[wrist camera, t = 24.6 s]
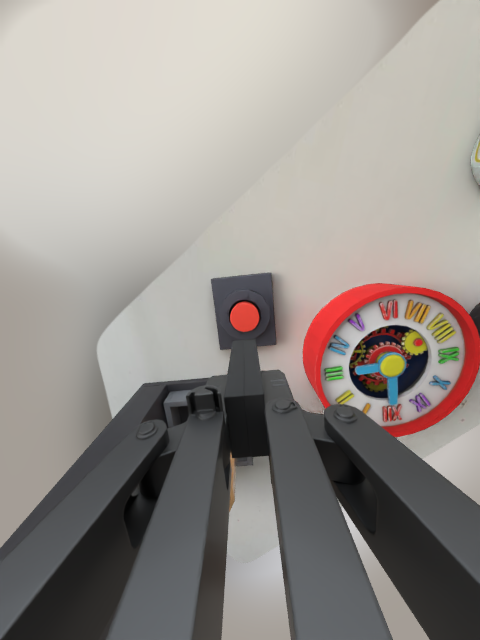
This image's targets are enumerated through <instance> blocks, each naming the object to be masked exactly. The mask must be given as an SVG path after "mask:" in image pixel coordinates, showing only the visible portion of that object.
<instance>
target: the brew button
mask: <svg viewBox="0 0 480 640" xmlns="http://www.w3.org/2000/svg"><path fill="white" fill-rule="evenodd" d="M230 321H231V324H232V325H233V327H234V328H235V329H237V330H238V331H241V332H248V331H251V330H253V329H254V328H255V327H256V326H257V324H258V322H259V313H258V310H257V308H256V307H255V306H254V305H253V304H252V303H250V302H240V303H238V304H236V305H235V306H234V307H233V309H232V311H231V315H230Z"/></svg>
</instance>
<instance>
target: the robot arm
mask: <svg viewBox="0 0 480 640" xmlns="http://www.w3.org/2000/svg"><path fill="white" fill-rule="evenodd" d="M186 401H187V407H188V412H189V417H188V420H187V421H186V422H185V423H182V424H180V425H177V426H173V427H170V428H167V424H166V423H165V422H164V421H162V420H159V419H157V420H149V421H146V422H143V423H141V424H139V425H137V426H136V427H135V428H134V429H132V430H131V431H130V432H129V433H128V434H127V435H126V436H125V437H124V438H123V439H122V440H121V441H120V442H119V443H118V444H117V445H116V446H115V447H114V448H113V449H112V450H111V451H110V452H109V453H108V454H107V455H106V456H105V457H104V458H103V459H102V460H101V461H100V462H99V463H98V464H97V465H96V466H95V467H94V468H93V469H92V470H91V471H90V472H89V473H88V474H87V475H86V476H85V477H84V478H83V479H82V480H81V481H80V482H79V483H78V484H77V485H76V486H75V487H74V488H73V489H72V490H71V491H70V492H69V493H68V494H67V495H66V496H65V497H64V498H63V499H62V500H61V501H60V502H59V503H58V504H57V505H56V506H55V507H54V508H53V509H52V510H51V511H50V512H49V513H48V514H47V515H46V516H45V517H44V518H43V519H42V520H41V521H40V522H39V523H38V524H37V525H36V526H35V527H34V528H33V529H32V530H31V531H30V532H29V533H28V534H27V535H26V536H25V537H24V538H23V539H22V540H21V541H20V542H19V543H18V544H17V545H16V546H15V547H14V548H13V549H12V550H11V551H10V552H9V553H8V554H7V555H6V556H5V557H4V558H3V559H2V560H1V561H0V640H100V639H101V637H102V635H103V633H104V631H105V629H106V627H107V625H108V624H109V622H110V620H111V618H112V616H113V614H114V612H115V610H116V609H117V610H116V613H115V616H114V618H113V621H112V624H111V626H110V629H109V632H108V634H107V637H106V640H221V636H222V619H223V603H224V586H225V570H226V554H227V538H228V522H229V505H230V489H231V473H232V469H231V462H230V455H232V458H243V457H257V456H269V462H270V474H271V484H272V488H273V496H274V505H275V513H276V521H277V529H278V537H279V545H280V553H281V561H282V570H283V578H284V586H285V594H286V602H287V609H288V610H287V611H288V618H289V627H290V634H291V640H393V639H392V636H391V634H390V631H389V628H388V626H387V623H386V621H385V618H384V616H383V613H382V611H381V608H380V606H379V604H378V601H377V598H376V596H375V593H374V591H373V588H372V586H371V583H370V581H369V578H368V576H367V573H366V570H365V568H364V566H363V563H362V560H361V558H360V555H359V553H358V550H357V548H356V545H355V543H354V540H353V538H352V535H351V533H350V530H349V528H348V525H347V523H346V520H345V518H344V515H343V512H342V510H341V507H340V505H339V502H338V500H339V501H340V503H341V505H342V506H343V508H344V509H345V511H346V512H347V514H348V515H349V517H350V518H351V520H352V521H353V523H354V524H355V526H356V527H357V529H358V530H359V532H360V534H361V535H362V537H363V538H364V540H365V541H366V543H367V544H368V546H369V547H370V549H371V550H372V552H373V553H374V555H375V556H376V558H377V559H378V561H379V563H380V564H381V566H382V567H383V569H384V570H385V572H386V573H387V575H388V576H389V578H390V579H391V581H392V582H393V584H394V585H395V587H396V589H397V590H398V591H399V593H400V594H401V596H402V597H403V599H404V601H405V602H406V604H407V605H408V607H409V608H410V610H411V611H412V613H413V614H414V616H415V618H416V619H417V621H418V622H419V624H420V625H421V627H422V628H423V630H424V631H425V633H426V634H427V636H428V637H429V639H430V640H480V505H478V504H477V503H476V502H475V501H473V500H472V499H471V498H470V497H468V496H467V495H466V494H464V493H463V492H462V491H461V490H460V489H458V488H457V487H456V486H455V485H453V484H452V483H451V482H450V481H448V480H447V479H446V478H445V477H443V476H442V475H441V474H439V473H438V472H437V471H436V470H435V469H433V468H432V467H431V466H430V465H428V464H427V463H426V462H425V461H423V460H422V459H421V458H420V457H418V456H417V455H416V454H415V453H413V452H412V451H411V450H410V449H408V448H407V447H406V446H405V445H403V444H402V443H401V442H400V441H398V440H397V439H396V438H395V437H393V436H392V435H391V434H390V433H389V432H387V431H386V430H385V429H384V428H382V427H381V426H380V425H379V424H377V423H376V422H375V421H374V420H372V419H371V418H370V417H369V416H367V415H366V414H365V413H364V412H362V411H361V410H359V409H357V408H356V407H353V406H350V405H346V404H334V405H331V406H329V407H327V408H326V409H325V410H324V415H323V414H315V413H310V412H307V411H304V410H302V409H301V406H300V405H299V404H298V402H296V401H294V399H293V396H292V393H291V390H290V388H289V385H288V382H287V380H286V377H285V374H284V373H282V372H281V371H280V370H270V371H260V365H259V358H258V352H257V345H256V339H249V340H239V341H233V343H232V350H231V356H230V362H229V368H228V374H227V375H220V376H212V377H211V378H210V379H209V380H208V381H207V383H206V385H205V386H199V387H197V388H194V389H192V390H191V391H189V392H188V393H187V395H186ZM137 485H138V487H137ZM136 487H137V489H136V490H135V488H136ZM134 490H135V491H134ZM133 491H134V492H133ZM132 492H133V493H132ZM337 498H338V500H337ZM117 607H118V608H117Z"/></svg>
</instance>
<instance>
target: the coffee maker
mask: <svg viewBox="0 0 480 640" xmlns="http://www.w3.org/2000/svg"><path fill="white" fill-rule="evenodd" d="M209 379H210V378H203V379H191V380H180V381H168V382H157V383H145V384H143V385H142V386H141V387H140V388H139V390H138V391H137V392H136V393H135V394H134V395H133V396H132V398H131V399H130V400H129V401H128V402H127V403H126V404H125V406H124V407H123V408H122V409H121V410H120V411H119V413H118V414H117V415H116V416H115V417H114V418H113V419H112V421H111V422H110V423H109V424H108V425H107V426H106V427H105V429H104V430H103V431H102V432H101V433H100V434H99V436H98V437H97V438H96V439H95V440H94V441H93V442H92V444H91V445H90V446H89V447H88V448H87V449H86V450H85V452H84V453H83V454H82V455H81V456H80V457H79V459H78V460H77V461H76V462H75V463H74V464H73V465H72V467H71V468H70V469H69V470H68V471H67V472H66V474H65V475H64V476H63V477H62V478H61V479H60V480H59V482H58V483H57V484H56V485H55V486H54V487H53V488H52V490H51V491H50V492H49V493H48V494H47V495H46V496H45V498H44V499H43V500H42V501H41V502H40V503H39V504H38V506H37V507H36V508H35V509H34V510H33V511H32V513H31V514H30V515H29V516H28V517H27V518H26V520H24V522H23V523H22V524H21V525H20V526H19V528H18V529H17V530H16V531H15V532H14V533H13V534H12V535H11V537H10V538H9V539H8V540H7V541H6V542H5V543H4V545H3V546H2V547H1V548H0V561H1V560H2V559H3V558H4V557H5V556H6V555H7V554H8V553H9V552H10V551H11V550H12V549H13V548H14V547H15V546H16V545H17V544H18V543H19V542H20V541H21V540H22V539H23V538H24V537H25V536H26V535H27V534H28V533H29V532H30V531H31V530H32V529H33V528H34V527H35V526H36V525H37V524H38V523H39V522H40V521H41V520H42V519H43V518H44V517H45V516H46V515H47V514H48V513H49V512H50V511H51V510H52V509H53V508H54V507H55V506H56V505H57V504H58V503H59V502H60V501H61V500H62V499H63V498H64V497H65V496H66V495H67V494H68V493H69V492H70V491H71V490H72V489H73V488H74V487H75V486H76V485H77V484H78V483H79V482H80V481H81V480H82V479H83V478H84V477H85V476H86V475H87V474H88V473H89V472H90V471H91V470H92V469H93V468H94V467H95V466H96V465H97V464H98V463H99V462H100V461H101V460H102V459H103V458H104V457H105V456H106V455H107V454H108V453H109V452H110V451H111V450H112V449H113V448H114V447H115V446H116V445H117V444H118V443H119V442H120V441H121V440H122V439H123V438H124V437H125V436H126V435H127V434H128V433H129V432H130V431H131V430H132V429H134V428H135V427H136V426H137V425H139V424H141V423H143V422H146V421H149V420H157V419H159V420H162V421H164V422H165V423H166V424H167V428H170V427H173V426H177V425H180V424H182V423H185V422H186V421H187V420H188V417H189V412H188V407H187V401H186V395H187V393H188V392H189V391H191V390H192V389H194V388H197V387H199V386H205V385H206V383H207V381H208V380H209ZM247 465H253V457H243V458H236V466H247ZM137 487H138V485H137ZM137 487H136V488H135V490H136V489H137ZM135 490H134V491H135ZM134 491H133V492H134ZM133 492H132V493H133ZM117 608H118V607H117ZM116 610H117V609H116ZM116 610H115V612H114V614H113V616H112V618H111V620H110V622H109V624H108V625H107V627H106V629H105V631H104V633H103V635H102V637H101V639H100V640H106V637H107V634H108V632H109V629H110V626H111V624H112V621H113V618H114V616H115V613H116Z"/></svg>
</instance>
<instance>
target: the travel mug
mask: <svg viewBox="0 0 480 640" xmlns="http://www.w3.org/2000/svg"><path fill="white" fill-rule="evenodd" d="M470 316H471V318H472V320H473V322H474V324H475V326H476V328H477V330H478V334H479V338H480V303H479V304H478V305H477V306H476V307H475V308H474V309H473V310H472V312H471V313H470Z"/></svg>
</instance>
